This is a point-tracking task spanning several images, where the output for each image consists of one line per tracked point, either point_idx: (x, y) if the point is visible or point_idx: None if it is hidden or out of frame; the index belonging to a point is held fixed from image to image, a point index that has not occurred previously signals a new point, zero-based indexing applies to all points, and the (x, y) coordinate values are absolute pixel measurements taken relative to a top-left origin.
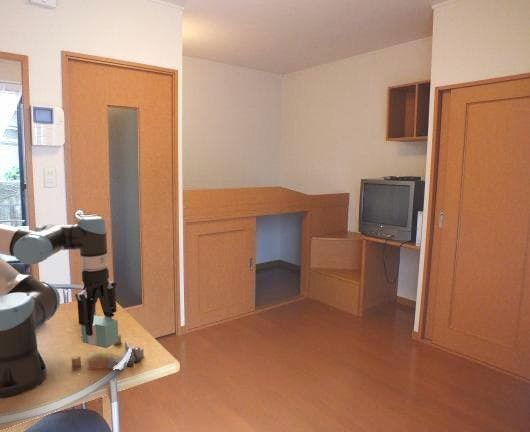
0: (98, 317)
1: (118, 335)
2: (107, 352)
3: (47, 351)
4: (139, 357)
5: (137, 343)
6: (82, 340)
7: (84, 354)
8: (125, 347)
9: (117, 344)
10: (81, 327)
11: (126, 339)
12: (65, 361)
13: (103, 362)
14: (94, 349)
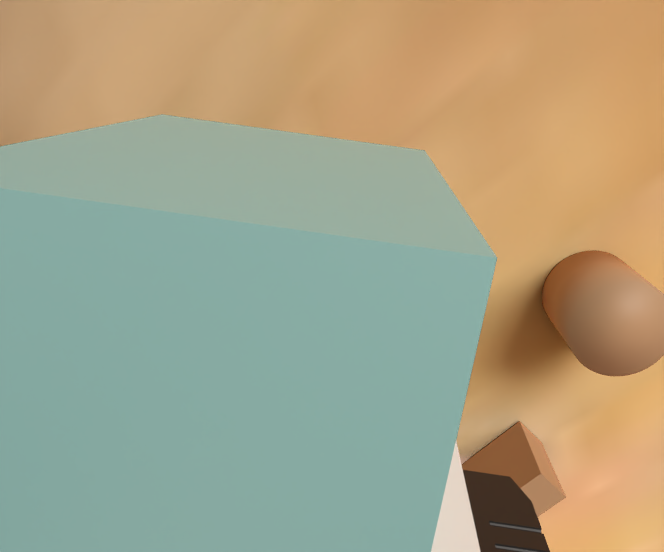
0: (346, 537)
1: (647, 335)
2: None
3: None
4: None
5: (617, 493)
6: (150, 119)
7: (227, 106)
8: (496, 440)
9: (549, 318)
10: (20, 149)
11: (550, 488)
12: (11, 7)
13: None
14: (371, 134)
